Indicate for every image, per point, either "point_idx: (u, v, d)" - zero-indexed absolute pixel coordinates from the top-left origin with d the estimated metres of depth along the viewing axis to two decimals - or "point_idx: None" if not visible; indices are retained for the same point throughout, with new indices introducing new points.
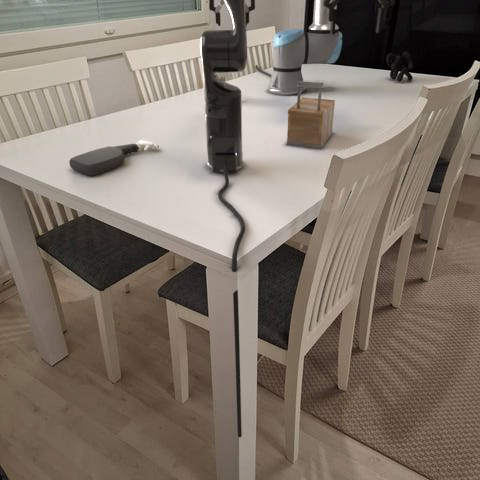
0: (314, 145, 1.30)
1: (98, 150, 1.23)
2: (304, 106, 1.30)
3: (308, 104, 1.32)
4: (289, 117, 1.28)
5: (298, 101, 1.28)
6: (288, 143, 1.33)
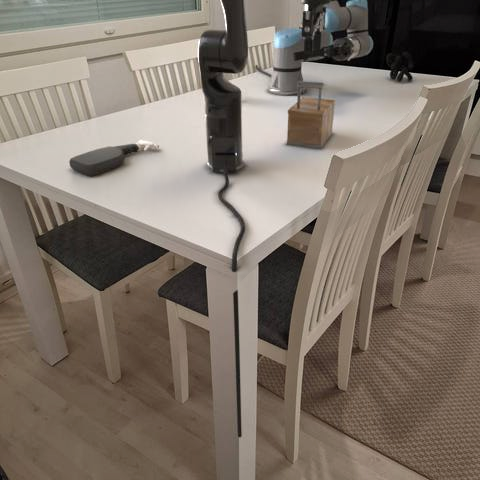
0: (314, 145, 1.30)
1: (98, 150, 1.23)
2: (304, 106, 1.30)
3: (308, 104, 1.32)
4: (289, 117, 1.28)
5: (298, 101, 1.28)
6: (288, 143, 1.33)
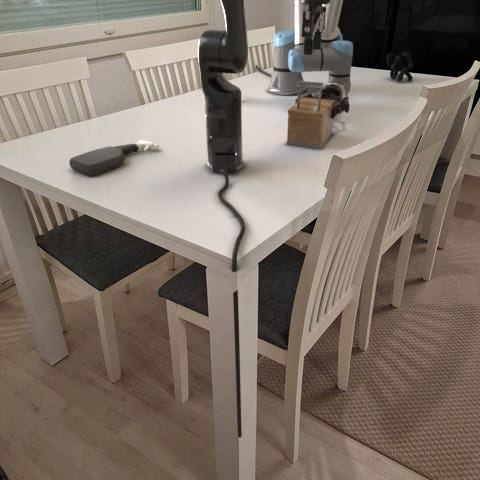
0: (314, 145, 1.30)
1: (98, 150, 1.23)
2: (304, 106, 1.30)
3: (308, 104, 1.31)
4: (289, 117, 1.28)
5: (298, 101, 1.28)
6: (288, 143, 1.33)
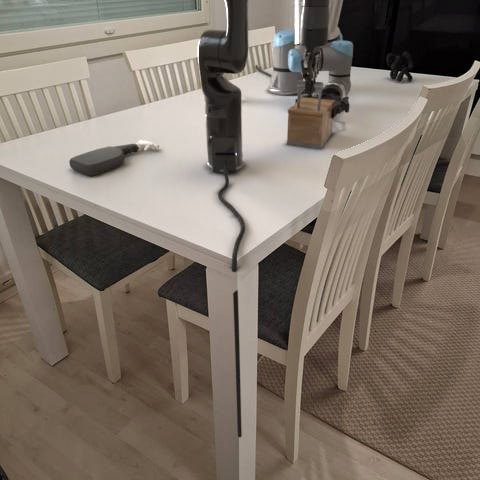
0: (314, 145, 1.30)
1: (98, 150, 1.23)
2: (304, 106, 1.30)
3: (308, 104, 1.31)
4: (289, 117, 1.28)
5: (298, 101, 1.28)
6: (288, 143, 1.33)
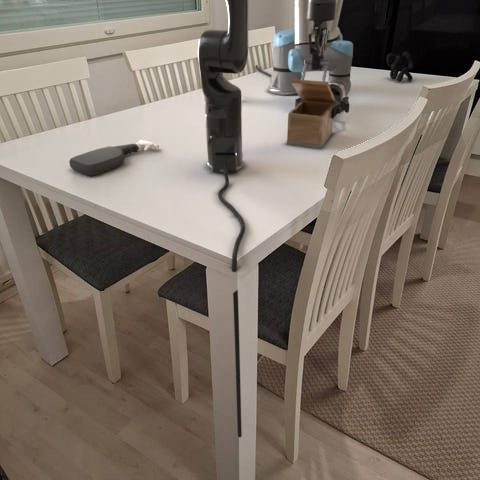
0: (314, 145, 1.30)
1: (98, 150, 1.23)
2: None
3: None
4: (289, 117, 1.29)
5: (302, 77, 1.27)
6: (288, 143, 1.33)
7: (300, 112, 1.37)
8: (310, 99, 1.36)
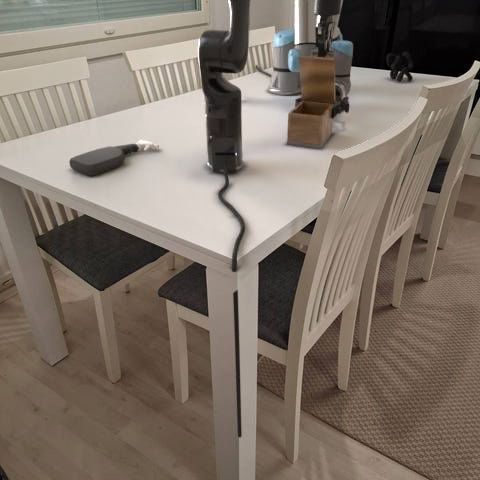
0: (314, 145, 1.30)
1: (98, 150, 1.23)
2: None
3: None
4: (289, 117, 1.28)
5: None
6: (288, 143, 1.33)
7: (300, 112, 1.37)
8: (311, 96, 1.36)
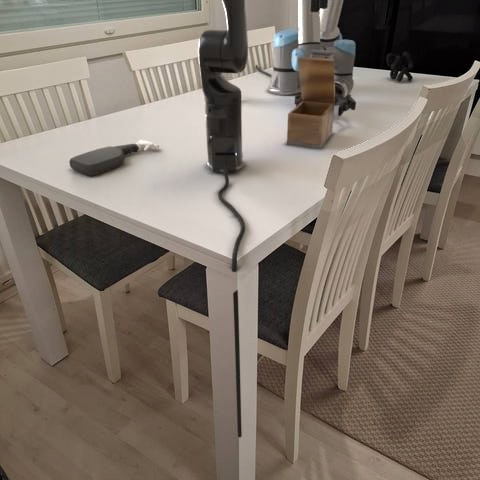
0: (314, 145, 1.30)
1: (98, 150, 1.23)
2: None
3: None
4: (289, 117, 1.28)
5: None
6: (288, 143, 1.33)
7: (300, 112, 1.37)
8: (311, 96, 1.36)
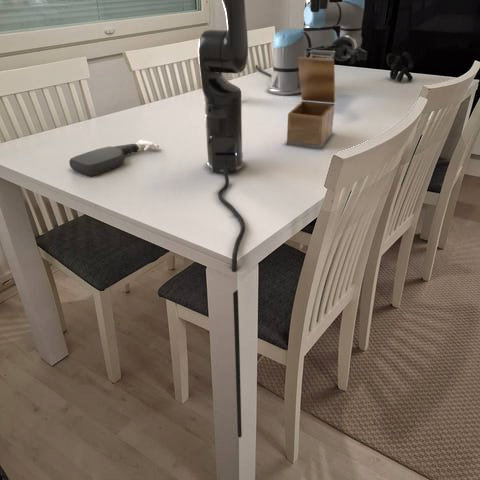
0: (314, 145, 1.30)
1: (98, 150, 1.23)
2: None
3: None
4: (289, 117, 1.28)
5: None
6: (288, 143, 1.33)
7: (300, 112, 1.37)
8: (310, 96, 1.36)
